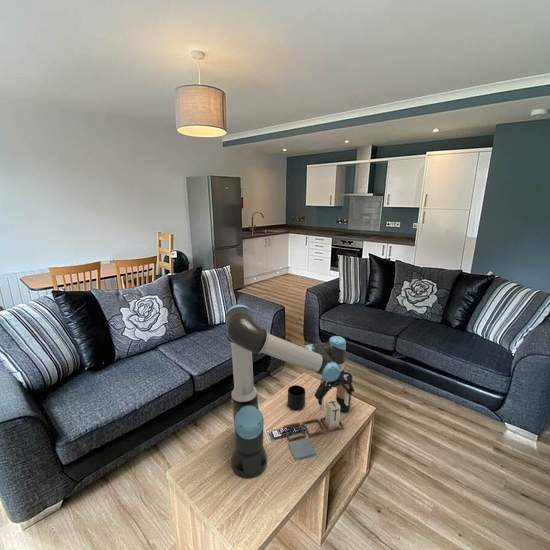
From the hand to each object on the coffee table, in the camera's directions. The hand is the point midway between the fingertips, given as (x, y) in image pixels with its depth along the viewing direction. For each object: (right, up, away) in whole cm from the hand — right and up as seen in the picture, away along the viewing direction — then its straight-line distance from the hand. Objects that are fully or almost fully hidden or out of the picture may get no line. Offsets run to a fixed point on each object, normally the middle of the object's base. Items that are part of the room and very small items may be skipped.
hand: (333, 406), depth 142 cm
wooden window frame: (-10, -11, 0) cm, 15 cm away
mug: (-16, -6, +17) cm, 25 cm away
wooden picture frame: (-20, -11, -3) cm, 23 cm away
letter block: (0, -10, +2) cm, 10 cm away
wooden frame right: (0, -10, +2) cm, 10 cm away
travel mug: (+7, -8, +14) cm, 17 cm away
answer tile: (-17, -14, -12) cm, 25 cm away
